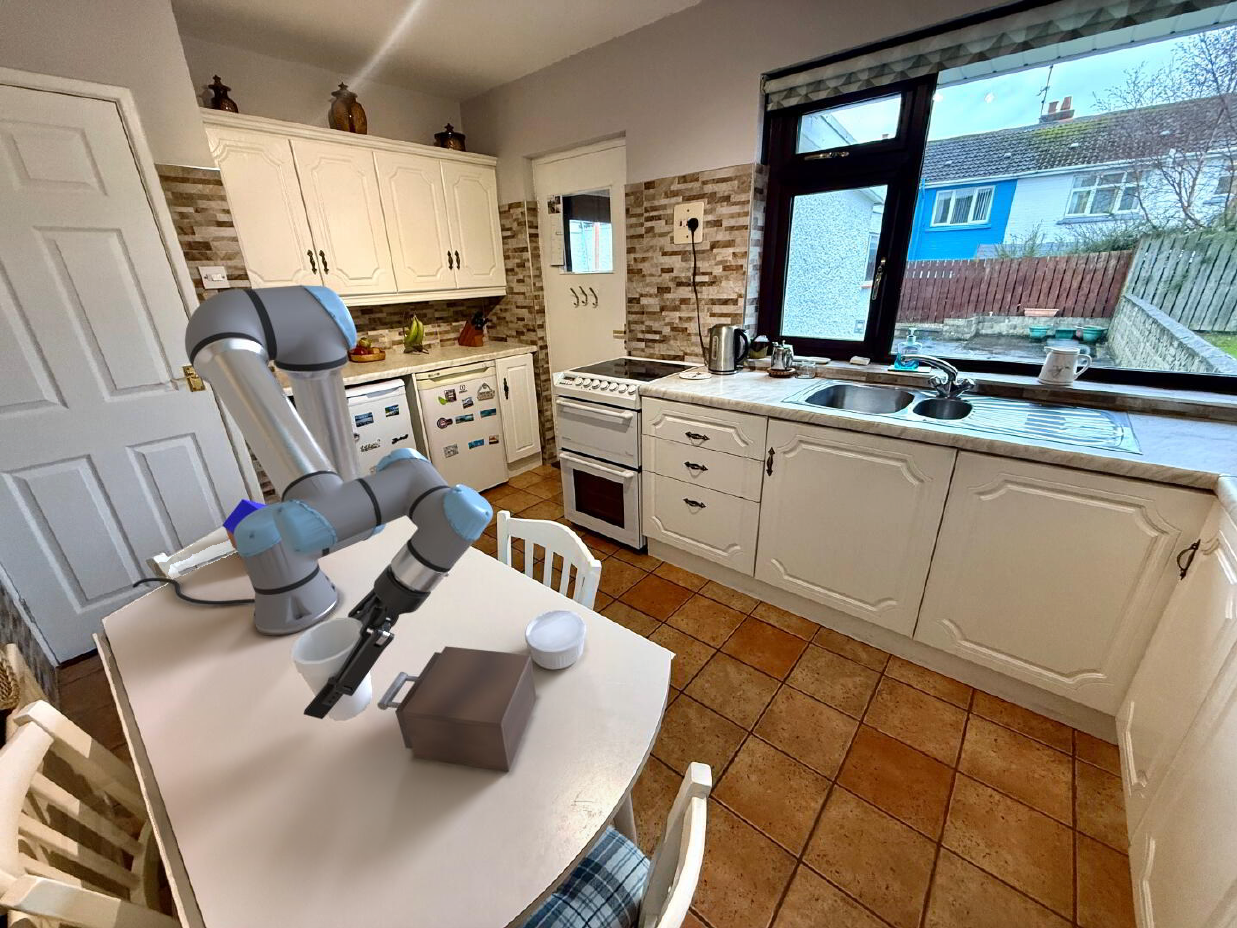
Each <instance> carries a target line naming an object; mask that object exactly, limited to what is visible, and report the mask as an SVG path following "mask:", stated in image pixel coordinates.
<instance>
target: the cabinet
mask: <svg viewBox="0 0 1237 928" xmlns="http://www.w3.org/2000/svg"><path fill="white" fill-rule="evenodd" d="M440 653H441V654H440V655H439V657H438V658H437V660H436V661H435V663H434V665H433V666H432V668H431V669H430V671H429V672H428V674H427V675H426V677H425V678H424V680H423V681H422V683H421V684H420V686H419V687H418V689H417V690H416V692H415V693H414V695H413V696H412V698H411V700H410V701H409V703H408V704H407V706H406V707H405V709H404V710H403V715H404V719H405V723H406V726H407V730H408V733H409V737H410V741H411V744H412V748H413V749H412V752H413V754H414V758H415V759H418V760H426V761H432V762H433V761H434V762H440V763H446V764H454V765H459V766H467V767H473V768H474V767H476V768H482V769H488V770H496V771H502V772H510V769H511V767H512V765H513V762H514V759H515V756H516V754H517V751H518V749H519V746H520V743H521V740H522V738H523V735H524V732H525V730H526V727H527V725H528V722H529V719H530V716H531V714H532V712H533V709H534V706H535V704H536V700H537V695H536V694H537V693H536V686H535V685H536V684H535V678H534V671H533V663H532V655H531V654H525V653H524V654H523V653H515V652H507V651H495V650H487V649H477V648H468V647H467V648H466V647H458V646H447V645H445V646H444V648H443V649H442V651H441V652H440Z"/></svg>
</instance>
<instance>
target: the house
mask: <svg viewBox="0 0 1237 928" xmlns="http://www.w3.org/2000/svg"><path fill="white" fill-rule="evenodd" d="M268 505H269V504H265V503H261V502H256V501H252V500H248V499H244V498H242V499H241V500H240V501H239V502H238V504H237V505H236V507H235V508H234V509H233V511H232V512H231V513H230V514H229V515H228V517H227V518H226V520H224V522H223V524H222V526H221V527H223V528H224V529H225V531H226V535H227V536H228V539H229V541H230V544H231V547H232V548H233V549H234V550H236V551H237V545H236V542H235V538H234V531H235V528H236V526H237V525H238V524H239V523H240V522H241V521H242V519H244V518H245V517H246V516H248V515H249V514H251V513H252V512H254V511H256V510H258V509H260V508H263V507H265V506H268Z"/></svg>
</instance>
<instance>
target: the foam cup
mask: <svg viewBox="0 0 1237 928" xmlns="http://www.w3.org/2000/svg"><path fill="white" fill-rule="evenodd" d="M362 626H363V625H362V623H361V621H359V620H356V619H354V618H349V617H336V618H333V619H329V620H325V621H321V622H319V623H317V624H315V625H313V626H312V627H311V628H309V629H307V630H306V631H305V632H304V633H302V634H301V635H300V636H299V637H298V638H296V639H295V642H294V644H293V646H292V648H291V649H290V654H291V657H292V660H293V663H294V666H295V668H296V670H297V673H299V674H301V676H302V678H303V679H304V681H305V682H306V685H308V687H309V689H310V690H311V692H312V693H313V695H314V697H316V696H317V694H318V693H319V692H320V691H321V690H322V688H323V687H324V686H325V685H326V684H327V681H328V678H329V677H331V678H332V676H334V677H336V675H337V674H338V672H339V671H340V669H341V667H342V666H343V664H344V662H345V661H346V659H347V657H348V656H349V654H350V653H351V651H352V649H353V648H354V646H355V644H356V643H357V641H358V639H359V638H360V634H359V631H360V629H361V628H362ZM372 698H373V689H372V679H371V670H370V671H369V672H368V674H367V675H366V677H365V678H364V680H363V681H362V682H361V684H360V685H359V687H358V688H357V690H356V691H355V693H354V694H353V695H352V696H348V695H345V694H343V695H342V697H341V698H340V699H339V700H338V701H337V703H336V704H335V705H334V706H333V707H332V709H331V710H330V711H329V712H328V713H327V715H326V716H328V718H329V719H331V720H333V721H335V722H338V721H339V722H341V721H347V720H350V719H352V718H356V717H358V715H360V714H361V713H363V712H364V711H365V710H366V709H367V708H368V707H369V705H370V704H371V702H372Z"/></svg>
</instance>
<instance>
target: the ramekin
mask: <svg viewBox="0 0 1237 928" xmlns="http://www.w3.org/2000/svg"><path fill="white" fill-rule="evenodd" d="M586 635H587V625H586V622H585V620H584V619H583V618H582V617H581V615H579V614H578V613H576V612H574V611H572V610H568V609H567V610H566V609H554V610H548V611H546V612H543V613H541V614H539V615H537V616H535V617H534V618H533V619H532V620H531V621H529V623H528V624H527V626H526V628H525V631H524V639H525V642H526V645H527V647H528V649H529V653H530V655H531V659H533V661H534V662H535V663H536V664H537V665H538V666H540V667H542V668H545V669H548V670H562V669H565V668H567V667H570V666H571V665H573V664H574V663H575V662H577V661H578V660H579V659H580V657H581V656H582V654H583V651H584V647H585V638H586Z"/></svg>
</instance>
